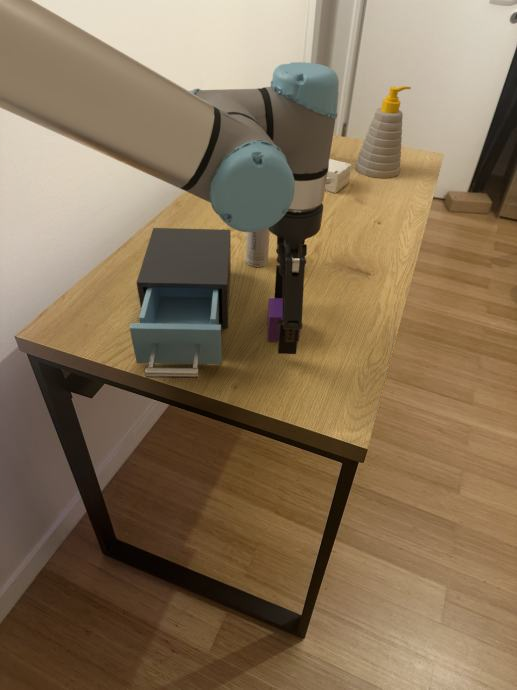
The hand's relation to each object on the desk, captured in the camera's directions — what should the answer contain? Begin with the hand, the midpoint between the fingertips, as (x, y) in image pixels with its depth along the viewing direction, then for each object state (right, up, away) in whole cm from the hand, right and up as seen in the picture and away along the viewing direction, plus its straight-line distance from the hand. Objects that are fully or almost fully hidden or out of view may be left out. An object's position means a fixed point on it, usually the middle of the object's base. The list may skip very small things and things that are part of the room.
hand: (284, 323), depth 75 cm
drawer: (-16, -3, -3) cm, 17 cm away
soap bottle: (+29, +45, +53) cm, 75 cm away
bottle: (-5, +13, +16) cm, 21 cm away
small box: (+14, +38, +44) cm, 60 cm away
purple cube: (0, -1, +1) cm, 2 cm away
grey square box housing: (-16, +5, +7) cm, 19 cm away
